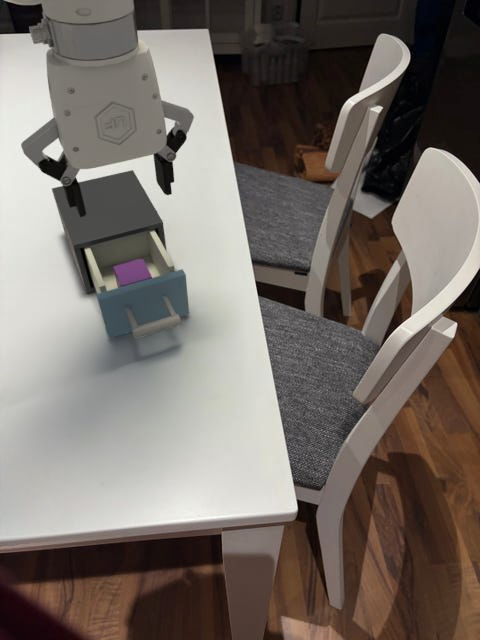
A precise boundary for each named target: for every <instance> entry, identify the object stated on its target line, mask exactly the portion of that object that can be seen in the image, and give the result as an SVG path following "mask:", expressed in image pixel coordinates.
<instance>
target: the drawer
mask: <svg viewBox="0 0 480 640" xmlns="http://www.w3.org/2000/svg"><path fill="white" fill-rule="evenodd" d="M166 251H167V249H166V250H165V248H164V246H163V244H162V243H161V241H160V239H159V237H158V235H157V234H156V232H155V230H154V229H152V230H148V231H144V232H140V233H137V234H133V235H129V236H125V237H121V238H118V239H114V240H110V241H106V242H102V243H98V244H95V245H91V246H87V247H83V252H84V255H85V259H86V263H87V266H88V270H89V273H90V276H91V278H92V281H93V284H94V286H95V289H96V291H95V292H96V294H95V296H96V300H97V303H98V307H99V311H100V314H101V318H102V322H103V325H104V329H105V332H106V336H107V338H108V339H109V340H110V339H113V338H116V337H119V336H123V335H125V334H129V333H131V332H132V335H133V338H134V339H135V340H137V339H140V338H143V337H146V336H150V335H153V334H156V333H158V332H161V331H165V330H168V329H171V328H174V327H177V326H181V325H182V318H181V317H182V316H186V315H188V314H190V306H189V295H188V286H187V284H188V283H187V275H186V272H185V271H184V269H183V268H181V269H179V270H176V269H175V264H174V263H173V261H172V259H171V257H170V255H169V254H168V251H167V252H166ZM142 258H143V260H144V262H145V264H146V266H147V268H148V270H149V272H150V274H151V276H152V278H150V279H147V280H143V281H140V282H136V283H133V284H130V285H126V286H123V287H119V288H118V286H117V282H116V277H115V273H114V269H113V266H117V265H120V264H124V263H127V262H131V261H135V260H138V259H142Z"/></svg>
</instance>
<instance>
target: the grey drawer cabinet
mask: <svg viewBox="0 0 480 640" xmlns="http://www.w3.org/2000/svg"><path fill="white" fill-rule="evenodd" d="M78 183H79V186H80V189H81V193H82V197H83V202H84V206H85V210H86V215H85V216H83V217H80V216H79V213H78V211H77V209H76V207H71V208H70V207H69V205H68V202H67V199H66V195H65V191H64V188H63V185H61V186H60V185H59V186H57V187H52V188H51V191H52V194H53V195H52V196H53V198H54V201H55V204H56V209H57V211H58V215H59V218H60V221H61V224H62V225H61V226H62V228H63V231H64V235H65V237H66V241H67V243H68V247H69V249H70V251H71V253H72V257H73V259H74V262H75V266H76V268H77V272H78V273H79V276H80V279H81V282H82V284H83V288H84V290H85V292H86V294H91V293H96V292H97V291H96V289H95V286H94V284H93V281H92V278H91V276H90V273H89V270H88V266H87V263H86V259H85V255H84V252H83V247H87V246H91V245H95V244H98V243H102V242H106V241H110V240H114V239H118V238H121V237H125V236H129V235H133V234H137V233H140V232H144V231H148V230H152V229H154V230H155V232H156V234H157V235H158V237H159V239H160V241H161V243H162V244H163V246H164V248H165V250H166V252H167V253H168V251H167V242H166V235H165V227H164V221H163V219H162V218H161V216H160V215H159V213H158V210H157V209H156V207H155V205H154V203H153V202H152V200H151V199H150V197H149V195H148V194H147V192H146V190H145V188H144V186H143V185H142V183H141V182H140V180H139V178H138V176H137V175H136V173H135V170H132V169H131V170H127V171H123V172H117V173H113V174H109V175H106V176H100V177H97V178H91V179H88V180H83V181H79V182H78Z"/></svg>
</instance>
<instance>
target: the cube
mask: <svg viewBox="0 0 480 640" xmlns="http://www.w3.org/2000/svg"><path fill="white" fill-rule="evenodd" d="M113 269H114V273H115V277H116V282H117V286H118V288H119V287H123V286H126V285H130V284H133V283H136V282H140V281H143V280H147V279H150V278H152V276H151V274H150V272H149V270H148V268H147V266H146V264H145V262H144V260H143V258H142V259H138V260H135V261H131V262H127V263H124V264H120V265H117V266H113Z"/></svg>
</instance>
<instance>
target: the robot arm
mask: <svg viewBox="0 0 480 640" xmlns="http://www.w3.org/2000/svg"><path fill="white" fill-rule="evenodd" d="M4 2H8V3H12V4H15V5H20V6H35V5H40V4H41V7H42V11H41V14H42V18H41V19H40V20H41V22H37V25H32V26H28V28H29V34H30V37H31V40H32V43H33V45H37V44H42V45H44V46H45V45H47V46H48V47H49V49H48V50H46V53H45V59H46V60H45V61H46V62H45V63H46V77H47V85H48V93H49V99H50V104H51V110H52V115H53V117H52V118H51V119H50V120H48V121H47V122H46V123H45V124H44V125H42V126H40V128H38V129H37V130H35V131H34V132H33V133H32V134H31V135H29V136H28V137H27V138H26V139H24V140H23V141H22V142H21V143H20V146H21V150H22V152H23V154H24V155H25V156H26V157H27V158H28V160H30V161H31V162H32V164H34V165H35V166H36V167H37V168H38V169H39V170H40V172H41V173H43V174H45V175H47V176H48V177H50V178H52V179H54V180H56V181H59V182H60V184H61V186H63V188H64V191H65V195H66V199H67V202H68V205H69V207H70V208H71V207H76V209H77V211H78V213H79V216H80V217H83V216H85V215H86V210H85V206H84V202H83V197H82V193H81V189H80V186H79V183H78V178H77V176H78V174H79V172H80V171H81V170H91V169H96V168H100V167H101V168H102V167H105V166H110V165H114V164H119V163H123V162H128V161H131V160H137V159H141V158H143V157H149V156H152V155H153V164H154V173H155V179H156V183H157V185H158V187H159V188H160V190H161V191H162V192H163V194H164V195H166V196H170V195H172V194H173V193H172V183H175V172H174V162H175V160H176V159H177V153H178V152H179V150H180V149H181V148H182V146H183V145H184V144H185V143H186V141H187V137H188V135H187V134H188V133H189V131H190V129H191V127H192V124H193V121H194V119H195V116H194V114H193V113H192V112H191V110H190V109H189V108H186V107H183V106H182V105H181V106H180V105H177V104H175V103H171V102H169V101H165V100H162V96H161V92H160V86H159V82H158V78H157V72H156V68H155V65H154V61H153V57H152V53H151V51H150V48H149V46H148V44H146V43H145V42H144V41H143V40H142V39H139V36H138V35H139V34H138V26H137V18H136V17H137V16H136V9H135V3H134V0H4ZM166 119H169V120H172V121H174V126H173V127H172V128H171V129H170V130H169V132H168V133H167V127H166V126H167V125H166V121H165V120H166ZM56 140H58V141H59V143H60V144H59V145H60V146H61V147H62V152H61V153H60V154H59V155H60V156H59V157H58V159H54V158H52V157H50V156H48V155H47V154H45V153H44V150H45V149H46V148H47V147H48V146H50V145H51V144H52V143H54V142H55V141H56Z"/></svg>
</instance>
